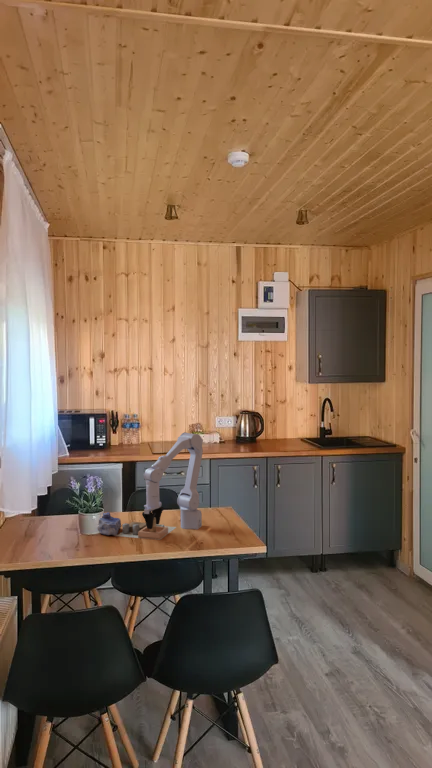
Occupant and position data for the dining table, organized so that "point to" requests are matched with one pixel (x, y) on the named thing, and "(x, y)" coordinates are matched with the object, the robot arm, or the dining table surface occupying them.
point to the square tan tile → (142, 525)
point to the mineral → (109, 524)
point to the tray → (153, 533)
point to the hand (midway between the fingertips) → (153, 526)
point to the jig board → (137, 528)
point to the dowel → (153, 526)
